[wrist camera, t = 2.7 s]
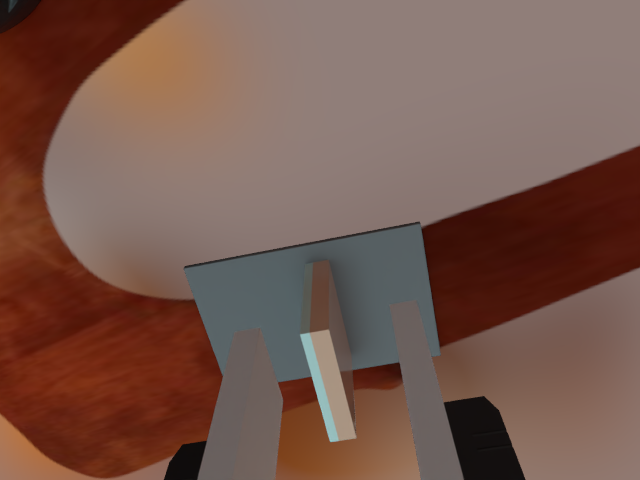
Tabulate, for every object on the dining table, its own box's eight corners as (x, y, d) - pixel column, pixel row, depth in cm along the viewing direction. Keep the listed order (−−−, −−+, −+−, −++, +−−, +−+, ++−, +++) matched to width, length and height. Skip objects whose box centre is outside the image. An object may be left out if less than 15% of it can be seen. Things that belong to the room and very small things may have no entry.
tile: (329, 358, 46) (330, 441, 38) (305, 263, 43) (299, 334, 34) (351, 354, 46) (356, 438, 38) (328, 259, 42) (328, 329, 34)
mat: (229, 387, 48) (228, 390, 48) (184, 266, 43) (183, 268, 43) (439, 352, 46) (440, 355, 46) (419, 221, 41) (420, 223, 41)
